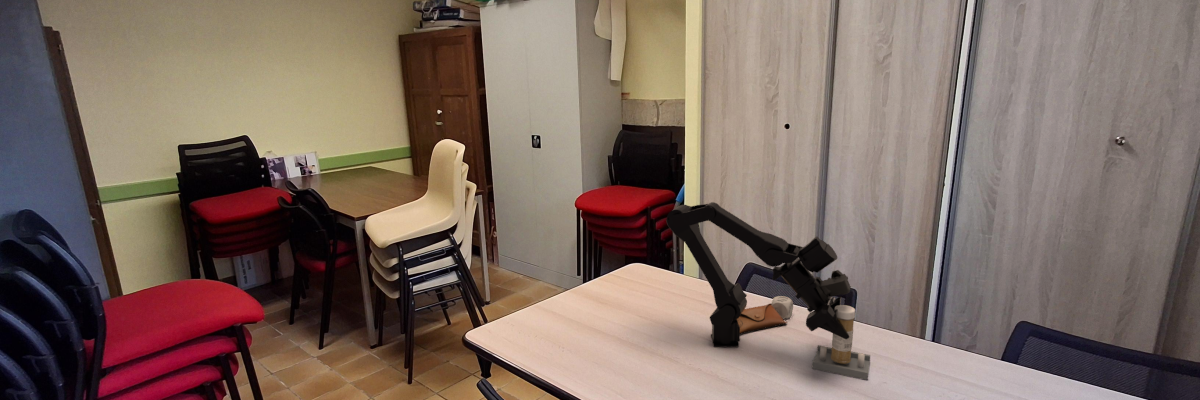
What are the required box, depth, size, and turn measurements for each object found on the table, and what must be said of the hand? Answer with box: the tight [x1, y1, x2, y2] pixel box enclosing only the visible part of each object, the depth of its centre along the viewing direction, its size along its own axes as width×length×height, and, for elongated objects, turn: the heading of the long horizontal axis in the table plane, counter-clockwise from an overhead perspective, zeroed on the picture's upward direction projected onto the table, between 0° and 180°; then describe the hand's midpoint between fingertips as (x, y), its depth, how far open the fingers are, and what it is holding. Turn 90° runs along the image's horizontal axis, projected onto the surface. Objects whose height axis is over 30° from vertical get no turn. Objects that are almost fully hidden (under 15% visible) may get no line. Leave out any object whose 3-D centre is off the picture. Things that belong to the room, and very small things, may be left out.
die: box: [771, 295, 794, 320], centre depth 163 cm, size 5×5×5 cm
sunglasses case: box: [737, 302, 788, 335], centre depth 158 cm, size 18×7×7 cm, turn 112°
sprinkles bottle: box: [831, 304, 856, 364], centre depth 134 cm, size 5×5×13 cm
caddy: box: [811, 344, 871, 381], centre depth 135 cm, size 12×9×4 cm
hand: (848, 334), depth 133 cm, fingers closed on sprinkles bottle, 4 cm apart
